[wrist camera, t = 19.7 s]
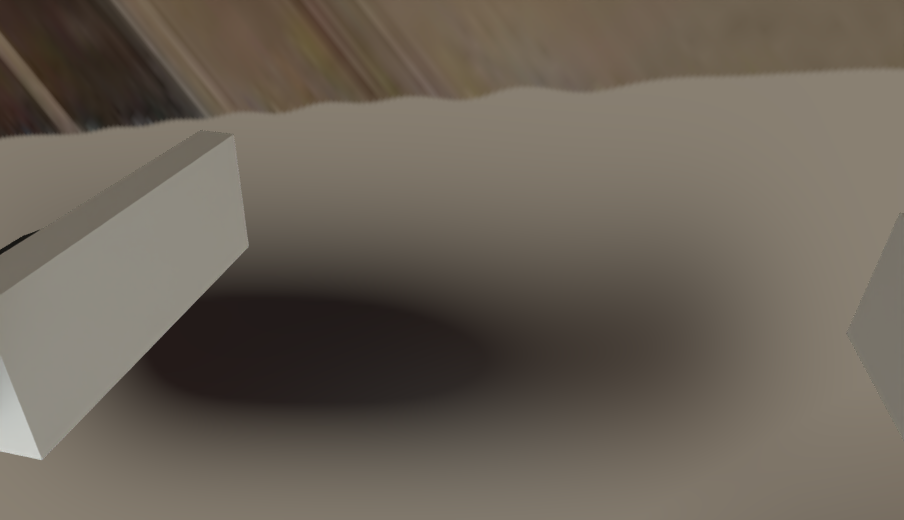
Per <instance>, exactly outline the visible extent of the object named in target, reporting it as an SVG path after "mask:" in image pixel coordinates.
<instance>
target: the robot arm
mask: <svg viewBox="0 0 904 520" xmlns="http://www.w3.org/2000/svg"><path fill="white" fill-rule="evenodd" d="M248 247H249V245H248V238H247V231H246V224H245V216H244V208H243V200H242V193H241V185H240V178H239V170H238V163H237V155H236V148H235V140H234V134H228V133H220V132H210V131H203V130H200V131H199V132H197V133H195V134H194V135H192V136H190V137H189V138H187V139H186V140H184V141H182V142H181V143H179V144H178V145H176V146H174V147H173V148H171V149H170V150H168V151H166V152H165V153H163V154H162V155H160V156H159V157H157V158H155V159H154V160H152V161H150V162H149V163H147V164H146V165H144V166H142V167H141V168H139V169H138V170H136V171H135V172H133V173H131V174H129V175H128V176H126V177H125V178H123V179H121V180H120V181H118V182H117V183H115V184H113V185H112V186H110V187H109V188H107V189H105V190H104V191H102V192H101V193H99V194H97V195H96V196H94V197H93V198H91V199H89V200H88V201H86V202H84V203H83V204H81V205H80V206H78V207H76V208H75V209H73V210H72V211H70V212H68V213H67V214H65V215H64V216H62V217H60V218H59V219H57V220H56V221H54V222H52V223H51V224H49V225H48V226H46V227H44V228H43V229H41V230H38V231H35V232H33V233H30V234H27V235H24V236H22V237H20V238H19V239H17V240H15V241H14V242H12V243H11V244H9V245H8V246H6V247H4V248H2V249H1V250H0V451H2V452H7V453H11V454H16V455H22V456H26V457H31V458H35V459H41V460H43V459H44V457H45V456H46V455H47V454H48V453H49V452H50V451H51V450H52V449H53V448H54V447H55V446H56V445H57V444H58V443H59V442H60V441H61V440H62V439H63V438H64V437H65V436H66V435H67V434H68V433H69V432H70V430H72V428H74V427H75V425H76V424H77V423H78V422H79V421H80V420H81V419H82V418H83V417H84V416H85V415H86V414H87V413H88V412H89V411H90V410H91V409H92V408H93V407H94V406H95V405H96V404H97V403H98V402H99V401H100V400H101V399H102V397H104V395H105V394H106V393H107V392H108V391H109V390H110V389H111V388H112V387H113V386H114V385H115V384H116V383H117V382H118V381H119V380H120V379H121V378H122V377H123V376H124V375H125V374H126V373H127V372H128V371H129V370H130V369H131V368H132V367H133V366H134V364H135V363H136V362H137V361H138V360H139V359H140V358H141V357H142V356H143V355H144V354H145V353H146V352H147V351H148V350H149V349H150V348H151V347H152V346H153V345H154V344H155V343H156V342H157V341H158V340H159V338H161V337H162V336H163V335H164V334H165V332H166V331H167V330H168V329H169V328H170V327H171V326H172V325H173V324H174V323H175V322H176V321H177V320H178V319H179V318H180V317H181V316H182V315H183V314H184V313H185V312H186V311H187V310H188V309H189V308H190V307H191V306H192V305H193V303H195V301H196V300H197V299H198V298H199V297H200V296H201V295H202V294H203V293H204V292H205V291H206V290H207V289H208V288H209V287H210V286H211V285H212V284H213V283H214V282H215V281H216V280H217V279H218V278H219V277H220V276H221V275H222V274H223V273H224V271H225V270H226V269H227V268H228V267H229V266H230V265H231V264H232V263H233V262H234V261H235V260H236V259H237V258H238V257H239V256H240V255H241V254H242V253H243V252H244V251H245V250H246V249H247V248H248ZM847 335H848V337H849V339H850V341H851V343H852V345H853V347H854V349H855V350H856V352H857V354H858V356H859V358H860V360H861V362H862V364H863V365H864V367H865V369H866V371H867V373H868V375H869V377H870V379H871V381H872V383H873V384H874V386H875V388H876V390H877V392H878V394H879V396H880V398H881V399H882V401H883V403H884V405H885V407H886V409H887V411H888V413H889V415H890V416H891V418H892V420H893V422H894V424H895V426H896V428H897V430H898V431H899V433H900V435H901V437H902V439H903V441H904V213H900V214H899V216H898V218H897V220H896V222H895V225H894V227H893V229H892V232H891V234H890V236H889V238H888V241H887V243H886V245H885V247H884V249H883V252H882V254H881V256H880V259H879V261H878V263H877V265H876V268H875V270H874V272H873V275H872V277H871V279H870V281H869V283H868V286H867V288H866V290H865V293H864V295H863V297H862V299H861V301H860V304H859V306H858V308H857V310H856V313H855V315H854V317H853V320H852V322H851V324H850V326H849V329H848V331H847Z"/></svg>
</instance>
